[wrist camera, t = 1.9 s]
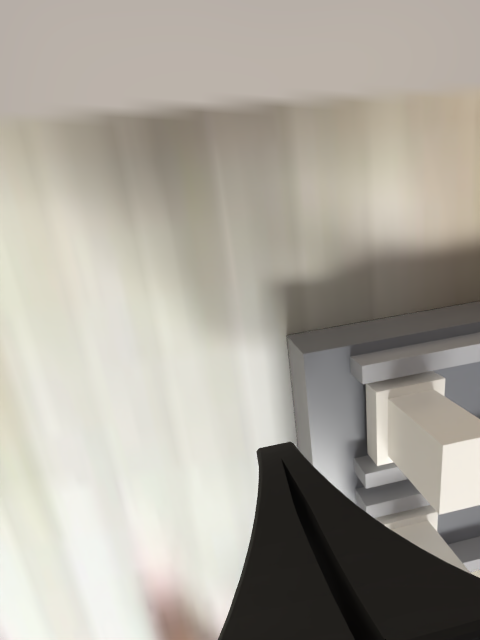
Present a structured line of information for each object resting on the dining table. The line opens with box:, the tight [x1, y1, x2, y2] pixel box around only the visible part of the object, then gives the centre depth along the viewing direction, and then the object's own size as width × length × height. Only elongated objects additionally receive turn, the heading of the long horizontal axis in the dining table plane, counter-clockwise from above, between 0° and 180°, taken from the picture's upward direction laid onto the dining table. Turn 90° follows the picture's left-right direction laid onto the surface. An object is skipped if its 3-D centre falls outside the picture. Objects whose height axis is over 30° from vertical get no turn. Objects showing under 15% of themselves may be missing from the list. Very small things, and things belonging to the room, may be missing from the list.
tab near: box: [366, 371, 480, 515], centre depth 12 cm, size 3×4×4 cm
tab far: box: [375, 505, 471, 574], centre depth 14 cm, size 3×4×4 cm
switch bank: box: [287, 301, 480, 572], centre depth 16 cm, size 16×14×4 cm
